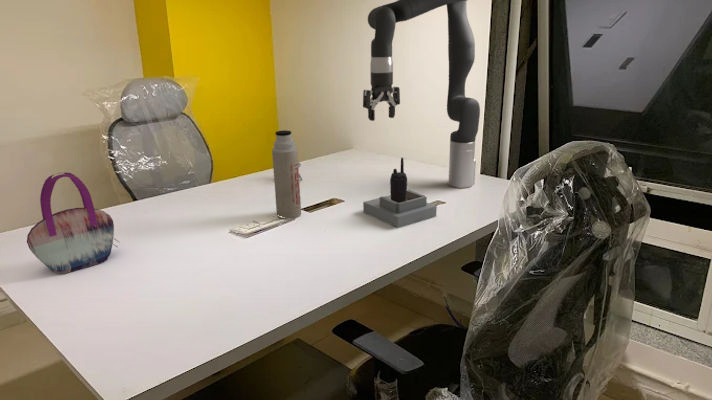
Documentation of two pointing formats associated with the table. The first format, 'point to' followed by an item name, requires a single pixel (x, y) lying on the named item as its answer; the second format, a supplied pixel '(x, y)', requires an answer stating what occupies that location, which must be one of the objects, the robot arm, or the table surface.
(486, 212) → the table surface
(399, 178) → the two-way radio
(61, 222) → the handbag
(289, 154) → the thermos bottle
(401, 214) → the tray
